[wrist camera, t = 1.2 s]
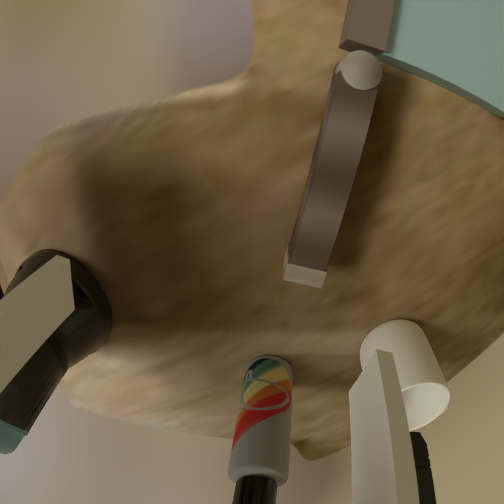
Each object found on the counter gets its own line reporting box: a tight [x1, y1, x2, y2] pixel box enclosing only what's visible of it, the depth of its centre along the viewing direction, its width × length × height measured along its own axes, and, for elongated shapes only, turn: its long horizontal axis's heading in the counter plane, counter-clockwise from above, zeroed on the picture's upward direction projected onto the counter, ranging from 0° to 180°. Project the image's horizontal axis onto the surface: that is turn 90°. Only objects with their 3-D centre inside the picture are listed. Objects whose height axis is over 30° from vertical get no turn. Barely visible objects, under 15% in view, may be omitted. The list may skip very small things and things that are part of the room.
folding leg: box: [283, 50, 383, 288], centre depth 25 cm, size 19×3×4 cm, turn 168°
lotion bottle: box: [228, 355, 292, 504], centre depth 29 cm, size 6×6×20 cm
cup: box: [360, 319, 450, 431], centre depth 30 cm, size 8×12×10 cm
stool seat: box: [339, 0, 504, 120], centre depth 17 cm, size 20×16×4 cm
